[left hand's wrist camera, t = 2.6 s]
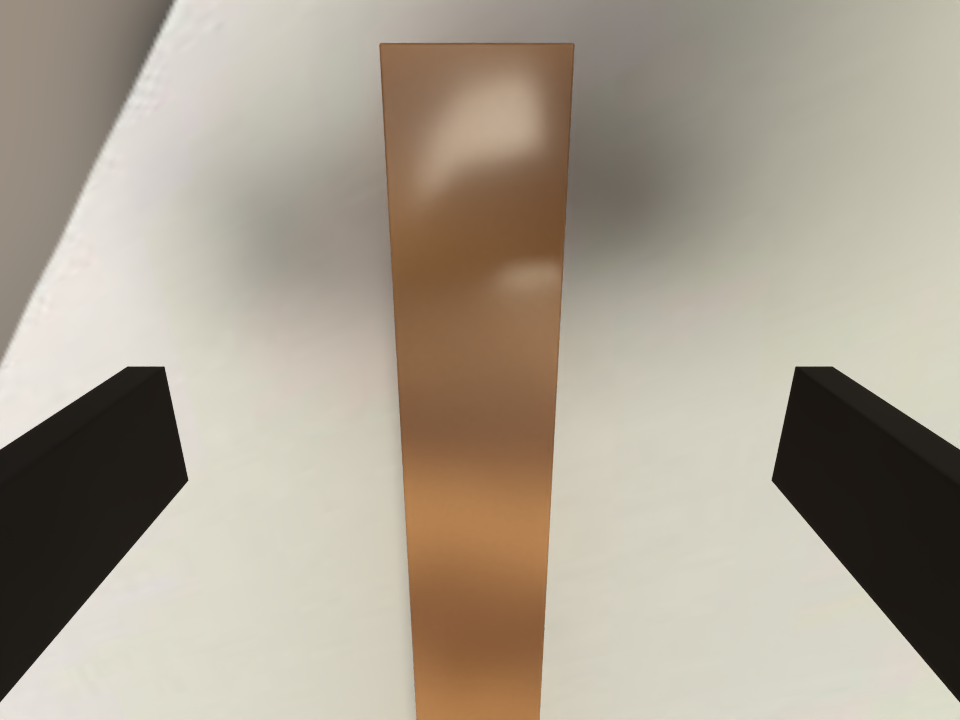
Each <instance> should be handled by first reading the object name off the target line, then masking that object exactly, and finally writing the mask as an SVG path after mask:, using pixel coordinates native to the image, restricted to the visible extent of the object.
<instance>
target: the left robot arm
mask: <svg viewBox="0 0 960 720" xmlns="http://www.w3.org/2000/svg"><path fill="white" fill-rule="evenodd" d="M187 481H188V476H187V472H186V467H185V462H184V457H183V453H182V448H181V443H180V438H179V434H178V429H177V424H176V419H175V415H174V410H173V405H172V400H171V396H170V391H169V386H168V381H167V377H166V372H165V367H126V368H125V369H123V370H122V371H120V372H119V373H117V374H116V375H114V376H112V377H111V378H109V379H108V380H106V381H105V382H103V383H102V384H100V385H99V386H97V387H96V388H94V389H93V390H91V391H89V392H88V393H86V394H85V395H83V396H82V397H80V398H79V399H77V400H76V401H74V402H73V403H71V404H70V405H68V406H66V407H65V408H63V409H62V410H60V411H59V412H57V413H56V414H54V415H53V416H51V417H50V418H48V419H47V420H45V421H43V422H42V423H40V424H39V425H37V426H36V427H34V428H33V429H31V430H30V431H28V432H27V433H25V434H24V435H22V436H21V437H19V438H17V439H16V440H14V441H13V442H11V443H10V444H8V445H7V446H5V447H4V448H2V449H1V450H0V702H1V701H2V700H3V698H4V697H5V696H6V695H7V694H8V692H9V691H10V690H11V689H12V688H13V687H14V685H15V684H16V683H17V682H18V681H19V680H20V678H21V677H22V676H23V675H24V674H25V672H26V671H27V670H28V669H29V668H30V667H31V665H32V664H33V663H34V662H35V661H36V659H37V658H38V657H39V656H40V655H41V654H42V652H43V651H44V650H45V649H46V648H47V647H48V645H49V644H50V643H51V642H52V641H53V639H54V638H55V637H56V636H57V635H58V634H59V632H60V631H61V630H62V629H63V628H64V626H65V625H66V624H67V623H68V622H69V621H70V619H71V618H72V617H73V616H74V615H75V614H76V612H77V611H78V610H79V609H80V608H81V606H82V605H83V604H84V603H85V602H86V601H87V599H88V598H89V597H90V596H91V595H92V593H93V592H94V591H95V590H96V589H97V588H98V586H99V585H100V584H101V583H102V582H103V581H104V579H105V578H106V577H107V576H108V575H109V573H110V572H111V571H112V570H113V569H114V568H115V566H116V565H117V564H118V563H119V562H120V560H121V559H122V558H123V557H124V556H125V555H126V553H127V552H128V551H129V550H130V549H131V548H132V546H133V545H134V544H135V543H136V542H137V540H138V539H139V538H140V537H141V536H142V535H143V533H144V532H145V531H146V530H147V529H148V527H149V526H150V525H151V524H152V523H153V522H154V520H155V519H156V518H157V517H158V516H159V514H160V513H161V512H162V511H163V510H164V509H165V507H166V506H167V505H168V504H169V503H170V502H171V500H172V499H173V498H174V497H175V496H176V494H177V493H178V492H179V491H180V490H181V489H182V487H183V486H184V485H185V484H186V483H187ZM772 481H773V483H774V484H775V485H776V486H777V487H778V489H779V490H780V491H781V492H782V493H783V494H784V496H785V497H786V498H787V499H788V500H789V502H790V503H791V504H792V505H793V506H794V507H795V509H796V510H797V511H798V512H799V513H800V514H801V516H802V517H803V518H804V519H805V520H806V522H807V523H808V524H809V525H810V526H811V527H812V529H813V530H814V531H815V532H816V533H817V535H818V536H819V537H820V538H821V539H822V540H823V542H824V543H825V544H826V545H827V546H828V548H829V549H830V550H831V551H832V552H833V553H834V555H835V556H836V557H837V558H838V559H839V560H840V562H841V563H842V564H843V565H844V566H845V568H846V569H847V570H848V571H849V572H850V573H851V575H852V576H853V577H854V578H855V579H856V581H857V582H858V583H859V584H860V585H861V586H862V588H863V589H864V590H865V591H866V592H867V593H868V595H869V596H870V597H871V598H872V599H873V601H874V602H875V603H876V604H877V605H878V606H879V608H880V609H881V610H882V611H883V612H884V614H885V615H886V616H887V617H888V618H889V619H890V621H891V622H892V623H893V624H894V625H895V626H896V628H897V629H898V630H899V631H900V632H901V634H902V635H903V636H904V637H905V638H906V639H907V641H908V642H909V643H910V644H911V645H912V647H913V648H914V649H915V650H916V651H917V652H918V654H919V655H920V656H921V657H922V658H923V659H924V661H925V662H926V663H927V664H928V665H929V667H930V668H931V669H932V670H933V671H934V672H935V674H936V675H937V676H938V677H939V678H940V680H941V681H942V682H943V683H944V684H945V685H946V687H947V688H948V689H949V690H950V691H951V692H952V694H953V695H954V696H955V697H956V698H957V700H958V701H959V702H960V450H959V449H958V448H956V447H955V446H953V445H952V444H950V443H949V442H947V441H946V440H944V439H943V438H941V437H939V436H938V435H936V434H935V433H933V432H932V431H930V430H929V429H927V428H926V427H924V426H923V425H921V424H920V423H918V422H916V421H915V420H913V419H912V418H910V417H909V416H907V415H906V414H904V413H903V412H901V411H900V410H898V409H897V408H895V407H894V406H892V405H890V404H889V403H887V402H886V401H884V400H883V399H881V398H880V397H878V396H877V395H875V394H874V393H872V392H871V391H869V390H867V389H866V388H864V387H863V386H861V385H860V384H858V383H857V382H855V381H854V380H852V379H851V378H849V377H848V376H846V375H844V374H843V373H841V372H840V371H838V370H837V369H835V368H834V367H795V372H794V377H793V381H792V386H791V391H790V396H789V400H788V405H787V410H786V415H785V419H784V424H783V429H782V434H781V438H780V443H779V448H778V453H777V457H776V462H775V467H774V472H773V476H772Z"/></svg>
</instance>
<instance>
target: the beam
mask: <svg viewBox="0 0 960 720" xmlns="http://www.w3.org/2000/svg"><path fill="white" fill-rule="evenodd" d="M379 46H380V64H381V82H382V100H383V118H384V136H385V155H386V173H387V191H388V209H389V227H390V245H391V263H392V281H393V300H394V318H395V336H396V354H397V372H398V390H399V408H400V426H401V445H402V463H403V481H404V499H405V517H406V535H407V553H408V571H409V589H410V608H411V626H412V644H413V662H414V680H415V698H416V716H417V720H540V701H541V681H542V662H543V643H544V624H545V604H546V585H547V566H548V547H549V527H550V508H551V489H552V469H553V450H554V431H555V412H556V392H557V373H558V354H559V334H560V315H561V296H562V277H563V257H564V238H565V219H566V199H567V180H568V161H569V142H570V122H571V103H572V84H573V65H574V43H380V45H379Z"/></svg>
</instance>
